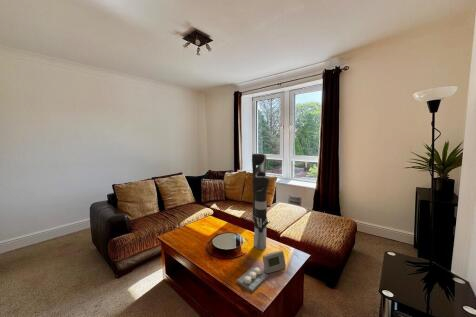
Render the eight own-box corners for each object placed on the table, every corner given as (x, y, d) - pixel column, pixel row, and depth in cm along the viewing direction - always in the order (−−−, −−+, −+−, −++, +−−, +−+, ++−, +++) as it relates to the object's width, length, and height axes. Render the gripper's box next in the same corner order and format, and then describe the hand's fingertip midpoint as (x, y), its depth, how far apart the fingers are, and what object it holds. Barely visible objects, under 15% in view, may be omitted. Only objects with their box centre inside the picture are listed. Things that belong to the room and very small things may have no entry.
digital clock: (264, 275, 127) (264, 259, 126) (260, 265, 136) (260, 251, 135) (288, 271, 130) (288, 256, 129) (282, 262, 139) (282, 248, 138)
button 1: (242, 284, 120) (242, 278, 119) (247, 279, 123) (246, 274, 123) (248, 287, 117) (248, 282, 116) (252, 283, 120) (252, 278, 120)
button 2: (247, 279, 123) (247, 274, 123) (251, 275, 127) (251, 270, 126) (253, 282, 120) (253, 277, 120) (257, 278, 124) (257, 273, 123)
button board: (237, 282, 122) (236, 279, 121) (252, 268, 133) (252, 266, 133) (252, 292, 114) (252, 289, 113) (267, 276, 126) (267, 274, 125)
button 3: (252, 274, 127) (252, 270, 127) (256, 271, 130) (256, 266, 130) (258, 278, 124) (258, 273, 124) (262, 274, 127) (262, 269, 127)
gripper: (249, 206, 128) (249, 231, 131) (266, 211, 120) (266, 237, 122) (255, 202, 134) (256, 226, 136) (272, 207, 125) (272, 233, 127)
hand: (260, 232), depth 129 cm, fingers closed
